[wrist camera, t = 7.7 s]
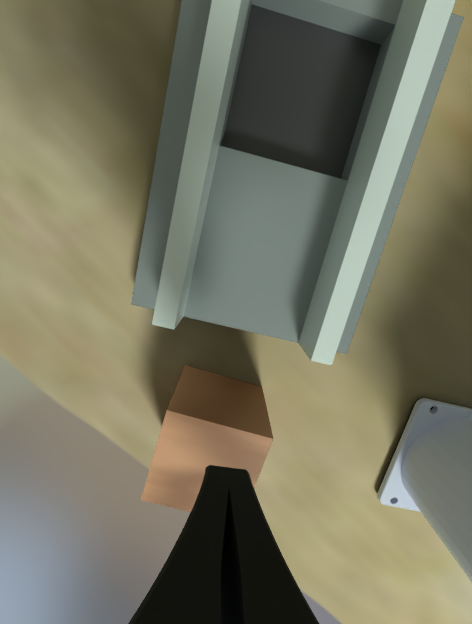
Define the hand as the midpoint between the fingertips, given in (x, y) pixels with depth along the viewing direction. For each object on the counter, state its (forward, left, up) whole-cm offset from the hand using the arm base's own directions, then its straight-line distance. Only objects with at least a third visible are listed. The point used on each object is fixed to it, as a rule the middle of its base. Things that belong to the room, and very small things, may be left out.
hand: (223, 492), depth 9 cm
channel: (0, -12, -8) cm, 14 cm away
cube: (0, 0, -6) cm, 6 cm away
